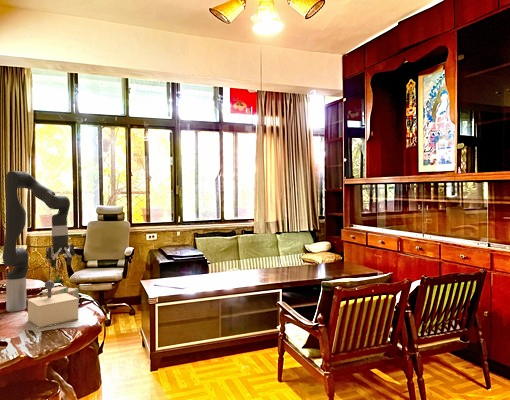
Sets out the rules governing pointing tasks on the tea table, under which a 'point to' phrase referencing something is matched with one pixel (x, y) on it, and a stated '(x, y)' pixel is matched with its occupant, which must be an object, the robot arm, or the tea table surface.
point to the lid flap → (51, 297)
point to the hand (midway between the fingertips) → (61, 266)
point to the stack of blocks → (62, 291)
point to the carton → (52, 313)
